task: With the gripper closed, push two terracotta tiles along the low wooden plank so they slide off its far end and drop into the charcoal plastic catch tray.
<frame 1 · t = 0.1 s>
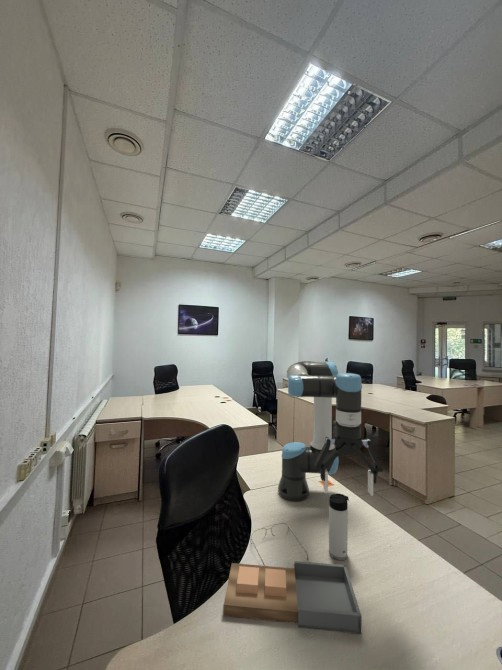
hand: (347, 492, 86), 28 cm above the table, fingers open, 13 cm apart
tile b: (275, 586, 80), point 3 cm above the table, touching wooden plank
travel mug: (338, 554, 97), on the table
tile a: (248, 583, 81), point 3 cm above the table, touching wooden plank
eyeglasses: (277, 552, 98), on the table
wooden plank: (261, 595, 81), on the table
catch tray: (324, 601, 79), on the table
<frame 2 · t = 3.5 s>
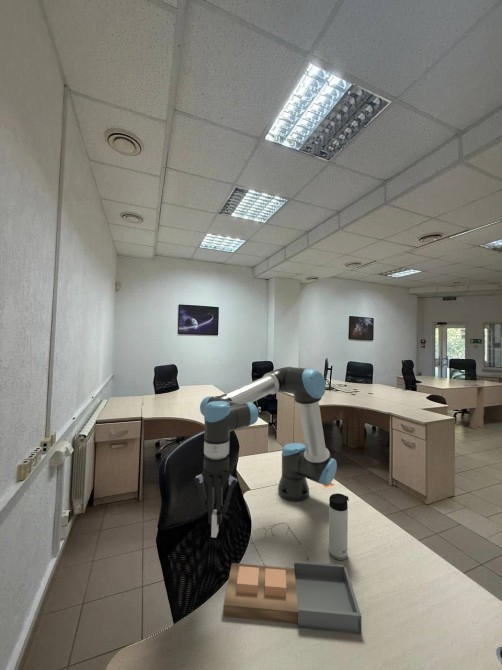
hand: (214, 534, 82), 17 cm above the table, fingers closed
nothing on the table moved.
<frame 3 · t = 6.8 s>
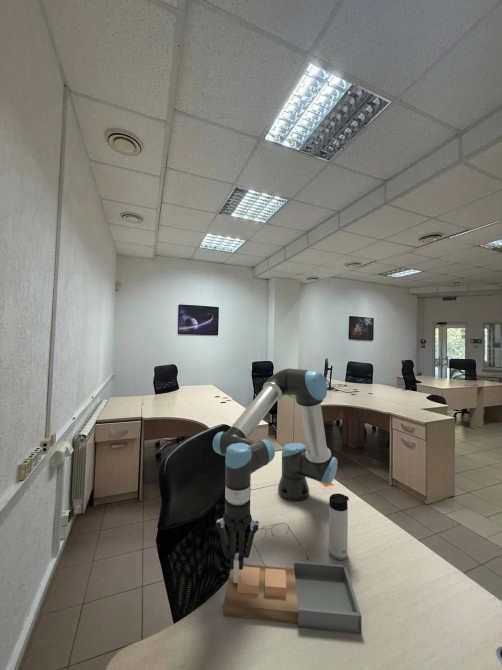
hand: (236, 578, 81), 4 cm above the table, fingers closed
tile a: (249, 584, 81), point 3 cm above the table, touching gripper
everything else where it was.
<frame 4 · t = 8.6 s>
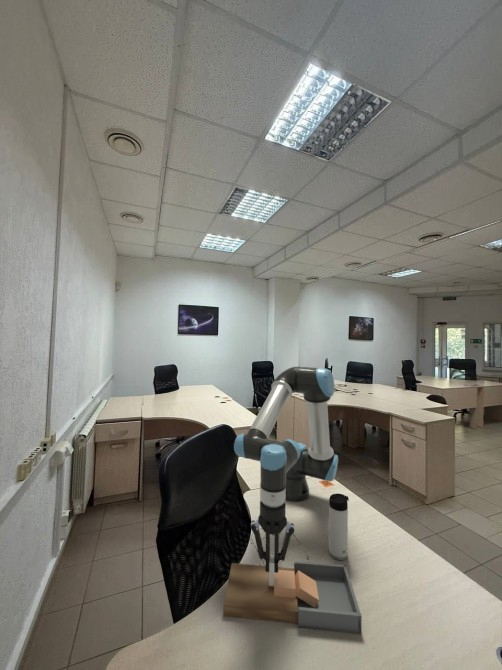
hand: (271, 581, 81), 4 cm above the table, fingers closed
tile b: (303, 591, 80), point 2 cm above the table, tilted 28°, touching tile a
tile a: (284, 587, 80), point 3 cm above the table, touching gripper, tile b
everything else where it was.
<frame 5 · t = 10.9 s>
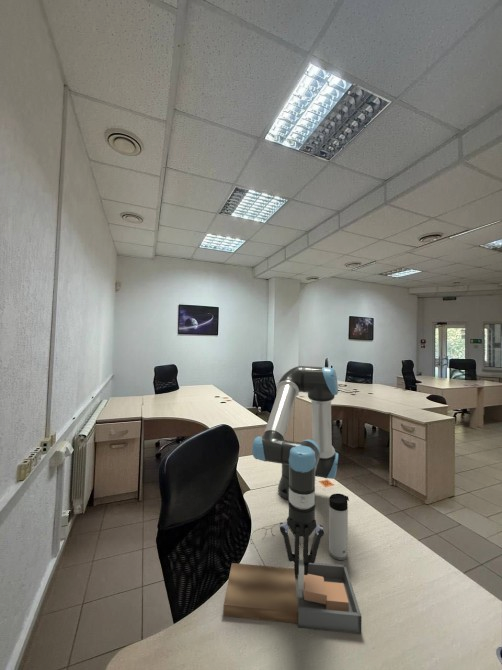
hand: (300, 584, 80), 4 cm above the table, fingers closed
tile b: (335, 600, 79), point 1 cm above the table, touching catch tray
tile a: (313, 592, 79), point 2 cm above the table, tilted 7°, touching gripper
everything else where it was.
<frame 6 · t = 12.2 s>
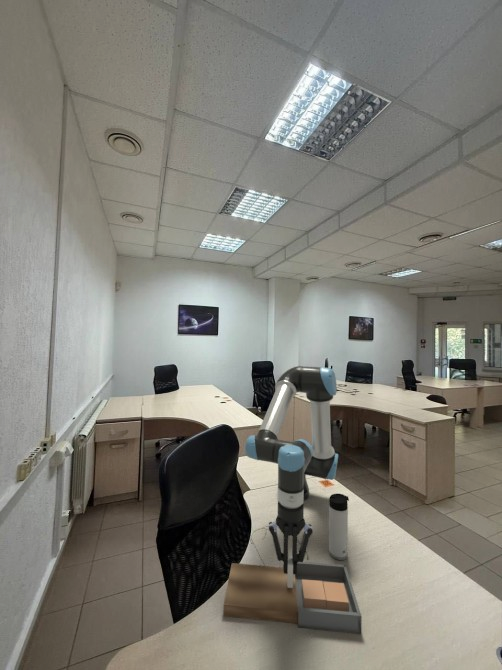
hand: (289, 583, 80), 4 cm above the table, fingers closed
tile a: (313, 598, 79), point 1 cm above the table, touching catch tray
everything else where it was.
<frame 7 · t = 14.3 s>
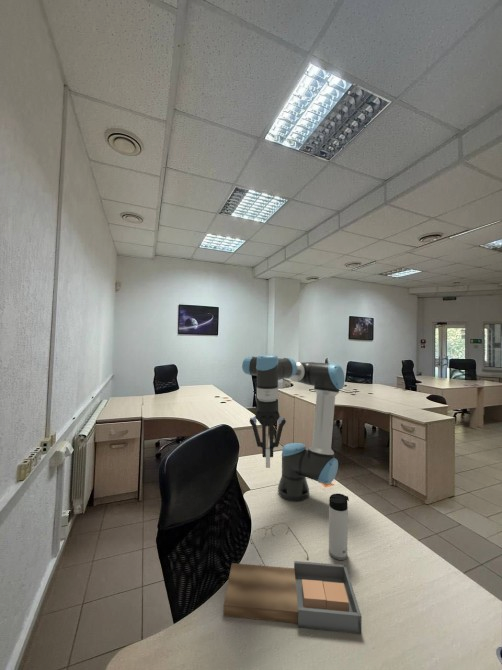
hand: (267, 465, 97), 31 cm above the table, fingers closed
nothing on the table moved.
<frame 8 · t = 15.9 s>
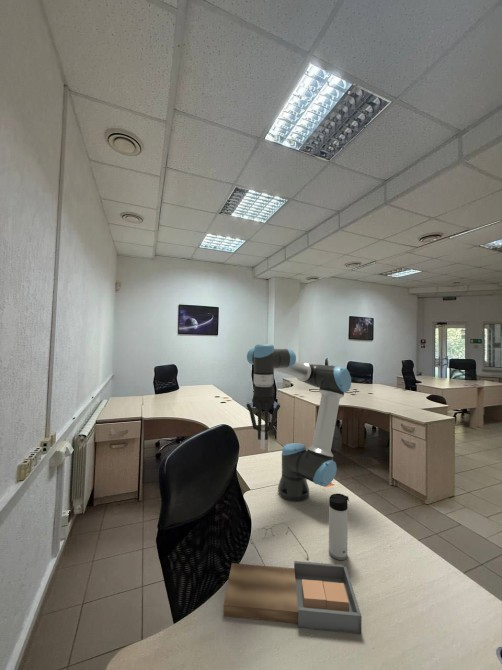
hand: (262, 448, 103), 34 cm above the table, fingers closed
nothing on the table moved.
at the end: tile a inside the target area (2.8 cm from its centre), point 0.8 cm above the table; tile b inside the target area (3.4 cm from its centre), point 0.8 cm above the table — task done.
